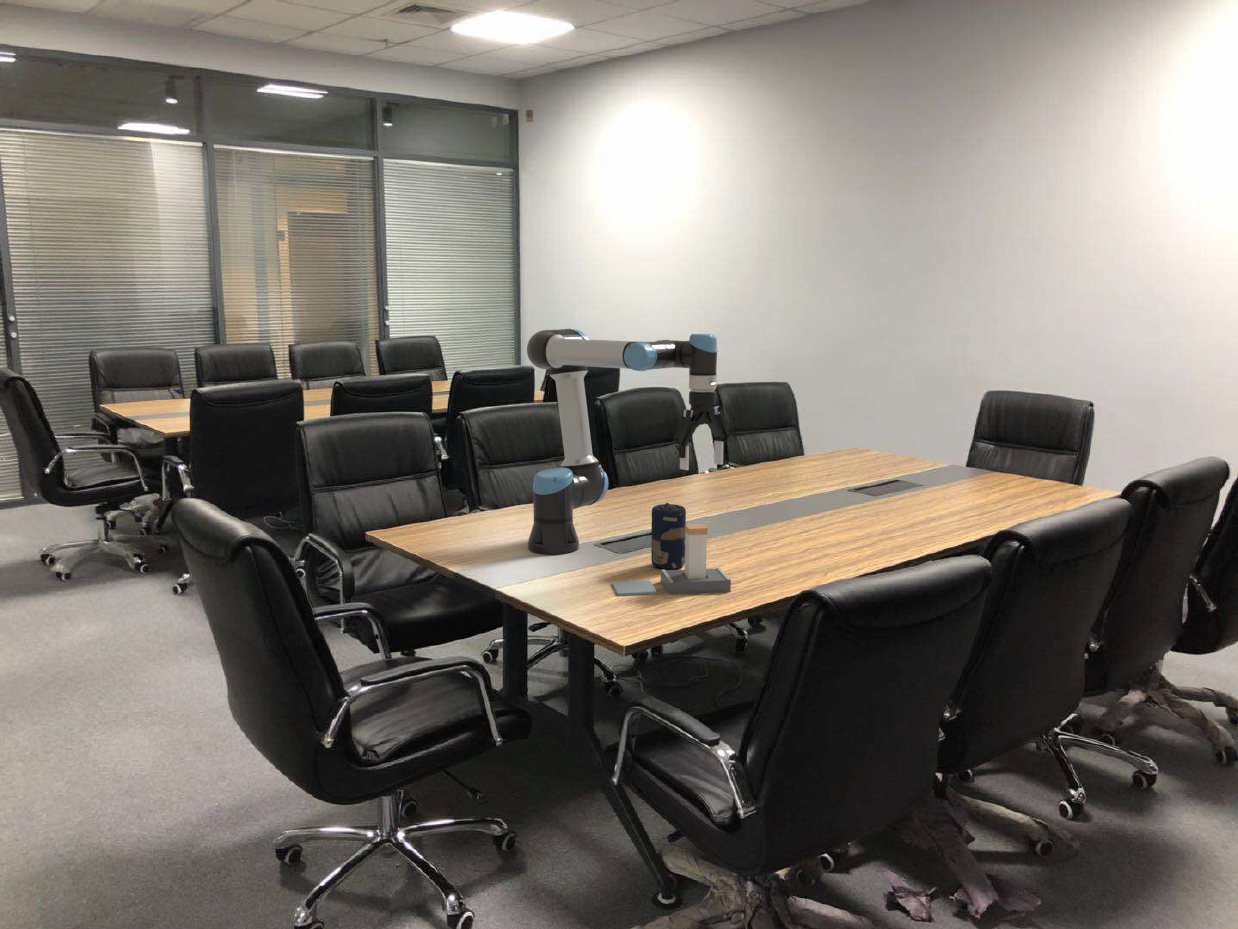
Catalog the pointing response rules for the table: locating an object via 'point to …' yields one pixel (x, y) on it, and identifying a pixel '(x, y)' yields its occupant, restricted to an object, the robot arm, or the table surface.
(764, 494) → the table surface
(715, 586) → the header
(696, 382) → the robot arm
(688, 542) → the plug
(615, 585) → the pad
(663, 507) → the canister
